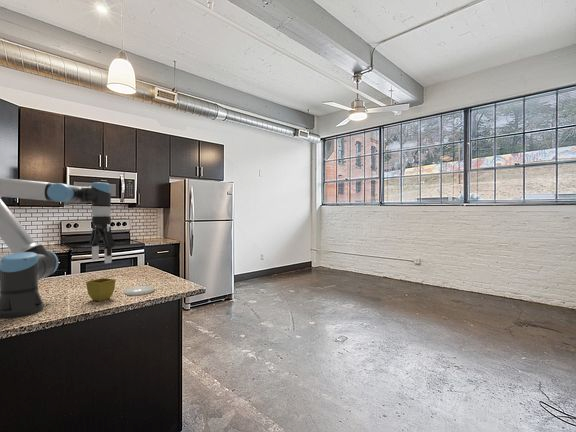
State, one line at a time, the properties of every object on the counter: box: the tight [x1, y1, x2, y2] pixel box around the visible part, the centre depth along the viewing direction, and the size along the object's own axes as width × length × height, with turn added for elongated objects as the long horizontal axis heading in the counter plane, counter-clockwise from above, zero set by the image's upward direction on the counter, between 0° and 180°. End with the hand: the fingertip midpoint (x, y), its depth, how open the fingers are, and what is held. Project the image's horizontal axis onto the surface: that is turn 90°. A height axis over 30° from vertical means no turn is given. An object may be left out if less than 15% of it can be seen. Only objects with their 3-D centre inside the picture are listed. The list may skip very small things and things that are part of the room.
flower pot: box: [85, 277, 117, 302], centre depth 143 cm, size 9×9×9 cm
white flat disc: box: [123, 285, 155, 296], centre depth 158 cm, size 14×14×1 cm
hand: (101, 261), depth 143 cm, fingers open, 13 cm apart
